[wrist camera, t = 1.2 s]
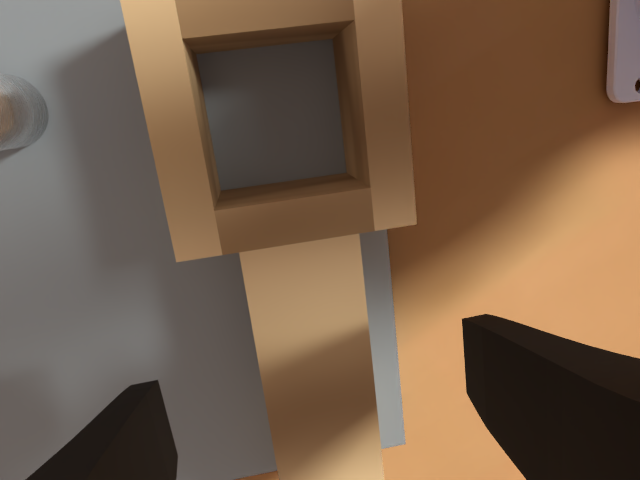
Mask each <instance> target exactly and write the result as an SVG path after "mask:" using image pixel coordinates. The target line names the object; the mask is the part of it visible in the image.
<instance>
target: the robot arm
mask: <svg viewBox="0 0 640 480" xmlns="http://www.w3.org/2000/svg"><path fill="white" fill-rule="evenodd" d="M638 79H639V80H640V0H610V17H609V41H608V66H607V95H608V97H609V99H610V100H611V101H613V102H615V103H629V102H636V101H640V88H639V90H638V91H636V90H635V84H636V81H637V80H638ZM462 326H463V342H464V358H465V374H466V390H467V394H468V396H469V398H470V400H471V402H472V403H473V405H474V407H475V409H476V411H477V412H478V414H479V416H480V417H481V419H482V421H483V422H484V424H485V426H486V427H487V429H488V430H489V432H490V433H491V434H492V436H493V437H494V438H495V440H496V441H497V442H498V443H499V445H500V446H501V447H502V449H503V450H504V451H505V453H506V454H507V455H508V456H509V458H510V459H511V460H512V462H513V463H514V464H515V465H516V467H517V468H518V469H519V471H520V472H521V473H522V474H523V476H524V477H525V478H526V480H640V359H639V358H634V357H630V356H626V355H622V354H618V353H614V352H610V351H606V350H603V349H599V348H596V347H592V346H588V345H585V344H582V343H578V342H575V341H572V340H569V339H565V338H562V337H559V336H556V335H553V334H550V333H547V332H544V331H541V330H538V329H535V328H532V327H529V326H526V325H523V324H520V323H517V322H514V321H511V320H507V319H504V318H501V317H497V316H493V315H488V314H484V315H479V316H474V317H469V318H464V319H462ZM177 463H178V454H177V450H176V446H175V442H174V438H173V435H172V431H171V427H170V423H169V419H168V416H167V412H166V408H165V404H164V400H163V397H162V393H161V389H160V385H159V381H158V380H154V381H149V382H144V383H139V384H134V385H130V386H129V387H128V388H126V389H125V390H124V391H123V392H121V393H120V394H119V395H118V396H117V397H116V398H115V399H114V400H113V401H112V402H111V403H110V404H109V405H107V406H106V407H105V408H104V409H103V410H102V411H101V412H100V413H99V414H98V415H97V416H96V417H95V418H94V419H93V420H92V421H91V422H90V423H89V424H87V425H86V426H85V427H84V428H83V429H82V430H81V431H80V432H79V433H78V434H77V435H76V436H75V437H74V438H73V439H72V440H70V441H69V442H68V443H67V444H66V445H65V446H64V447H62V448H61V449H60V450H59V451H58V452H57V453H56V454H54V455H53V456H52V457H51V458H50V459H49V460H48V461H46V462H45V463H44V464H43V465H42V466H41V467H40V468H38V469H37V470H36V471H35V472H34V473H33V474H31V475H30V476H29V477H28V478H27V479H25V480H176V478H177Z"/></svg>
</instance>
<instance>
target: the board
mask: <svg viewBox="0 0 640 480" xmlns="http://www.w3.org/2000/svg"><path fill="white" fill-rule="evenodd" d="M196 55H197V61H198V67H199V72H200V78H201V83H202V89H203V94H204V100H205V105H206V111H207V116H208V122H209V127H210V133H211V139H212V144H213V150H214V155H215V161H216V166H217V172H218V177H219V183H220V188H221V191H222V190H229V189H236V188H243V187H250V186H257V185H264V184H271V183H278V182H285V181H292V180H299V179H306V178H313V177H320V176H327V175H334V174H341V173H347V172H346V162H345V153H344V144H343V134H342V125H341V115H340V106H339V97H338V87H337V78H336V68H335V59H334V50H333V40H332V39H327V40H318V41H309V42H300V43H292V44H283V45H274V46H265V47H256V48H247V49H238V50H230V51H221V52H212V53H203V54H196ZM0 73H2V74H9V75H14V76H17V77H20V78H22V79H24V80H26V81H28V82H29V83H31V84H32V85H33V86H34V87H35V88H36V89H37V90H38V91H39V92H40V93H41V95H42V96H43V98H44V100H45V102H46V105H47V108H48V116H49V117H48V124H47V128H46V130H45V132H44V134H43V135H42V136H41V138H39V139H38V140H37V141H36V142H34V143H33V144H31V145H28V146H25V147H20V148H14V149H8V150H2V151H0V480H25V479H27V478H28V477H29V476H30V475H31V474H33V473H34V472H35V471H36V470H37V469H38V468H40V467H41V466H42V465H43V464H44V463H45V462H46V461H48V460H49V459H50V458H51V457H52V456H53V455H54V454H56V453H57V452H58V451H59V450H60V449H61V448H62V447H64V446H65V445H66V444H67V443H68V442H69V441H70V440H72V439H73V438H74V437H75V436H76V435H77V434H78V433H79V432H80V431H81V430H82V429H83V428H84V427H85V426H86V425H87V424H89V423H90V422H91V421H92V420H93V419H94V418H95V417H96V416H97V415H98V414H99V413H100V412H101V411H102V410H103V409H104V408H105V407H106V406H107V405H109V404H110V403H111V402H112V401H113V400H114V399H115V398H116V397H117V396H118V395H119V394H120V393H121V392H123V391H124V390H125V389H126V388H128V387H129V386H130V385H134V384H139V383H144V382H149V381H154V380H158V381H159V385H160V389H161V393H162V397H163V400H164V404H165V408H166V412H167V416H168V419H169V423H170V427H171V431H172V435H173V438H174V442H175V446H176V450H177V454H178V463H177V478H176V480H234V479H239V478H244V477H249V476H253V475H258V474H263V473H268V472H273V471H277V465H276V460H275V454H274V448H273V443H272V437H271V431H270V426H269V420H268V414H267V409H266V403H265V397H264V392H263V386H262V380H261V375H260V369H259V363H258V358H257V352H256V346H255V341H254V335H253V329H252V324H251V318H250V312H249V307H248V301H247V295H246V290H245V284H244V278H243V273H242V267H241V261H240V256H239V253H233V254H226V255H220V256H214V257H207V258H201V259H194V260H188V261H182V262H176V258H175V254H174V249H173V244H172V240H171V235H170V230H169V226H168V221H167V217H166V212H165V207H164V203H163V198H162V193H161V189H160V184H159V179H158V175H157V170H156V165H155V161H154V156H153V152H152V147H151V142H150V138H149V133H148V128H147V124H146V119H145V114H144V110H143V105H142V101H141V96H140V91H139V87H138V82H137V77H136V73H135V68H134V63H133V59H132V54H131V49H130V45H129V40H128V36H127V31H126V26H125V22H124V17H123V12H122V8H121V3H120V0H0ZM359 236H360V246H361V256H362V266H363V275H364V285H365V295H366V305H367V314H368V324H369V334H370V343H371V353H372V363H373V373H374V382H375V392H376V402H377V412H378V421H379V431H380V441H381V449H384V448H389V447H393V446H398V445H403V444H405V433H404V421H403V410H402V398H401V386H400V375H399V363H398V352H397V340H396V328H395V317H394V305H393V293H392V282H391V270H390V258H389V247H388V235H387V229H385V230H378V231H372V232H366V233H359Z"/></svg>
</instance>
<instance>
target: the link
mask: <svg viewBox="0 0 640 480" xmlns="http://www.w3.org/2000/svg"><path fill="white" fill-rule="evenodd" d="M120 3H121V8H122V12H123V17H124V22H125V26H126V31H127V36H128V40H129V45H130V49H131V54H132V59H133V63H134V68H135V73H136V77H137V82H138V87H139V91H140V96H141V101H142V105H143V110H144V114H145V119H146V124H147V128H148V133H149V138H150V142H151V147H152V152H153V156H154V161H155V165H156V170H157V175H158V179H159V184H160V189H161V193H162V198H163V203H164V207H165V212H166V217H167V221H168V226H169V230H170V235H171V240H172V244H173V249H174V254H175V258H176V262H182V261H188V260H194V259H201V258H207V257H214V256H220V255H226V254H233V253H239V256H240V261H241V267H242V273H243V278H244V284H245V290H246V295H247V301H248V307H249V312H250V318H251V324H252V329H253V335H254V341H255V346H256V352H257V358H258V363H259V369H260V375H261V380H262V386H263V392H264V397H265V403H266V409H267V414H268V420H269V426H270V431H271V437H272V443H273V448H274V454H275V460H276V465H277V471H278V477H279V480H384V470H383V460H382V451H381V441H380V431H379V421H378V412H377V402H376V392H375V382H374V373H373V363H372V353H371V343H370V334H369V324H368V314H367V305H366V295H365V285H364V275H363V266H362V256H361V246H360V236H359V233H366V232H372V231H378V230H385V229H391V228H397V227H404V226H410V225H416V224H417V218H416V203H415V188H414V173H413V159H412V144H411V129H410V115H409V100H408V85H407V70H406V56H405V41H404V26H403V11H402V0H120ZM327 39H332V40H333V50H334V59H335V68H336V78H337V87H338V97H339V106H340V115H341V125H342V134H343V144H344V153H345V162H346V172H347V173H341V174H334V175H327V176H320V177H313V178H306V179H299V180H292V181H285V182H278V183H271V184H264V185H257V186H250V187H243V188H236V189H229V190H222V191H221V188H220V183H219V177H218V172H217V166H216V161H215V155H214V150H213V144H212V139H211V133H210V127H209V122H208V116H207V111H206V105H205V100H204V94H203V89H202V83H201V78H200V72H199V67H198V61H197V55H196V54H203V53H212V52H221V51H230V50H238V49H247V48H256V47H265V46H274V45H283V44H292V43H300V42H309V41H318V40H327Z"/></svg>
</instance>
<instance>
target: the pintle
mask: <svg viewBox="0 0 640 480" xmlns="http://www.w3.org/2000/svg"><path fill="white" fill-rule="evenodd" d="M48 117H49V116H48V108H47V105H46V102H45V100H44V98H43V96H42V95H41V93H40V92H39V91H38V90H37V89H36V88H35V87H34V86H33V85H32V84H31V83H29V82H28V81H26V80H24V79H22V78H20V77H17V76H14V75H9V74H2V73H0V151H2V150H8V149H14V148H20V147H25V146H28V145H31V144H33V143H34V142H36V141H37V140H38V139H39V138H41V136H42V135H43V134H44V132H45V130H46V128H47V124H48Z"/></svg>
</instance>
